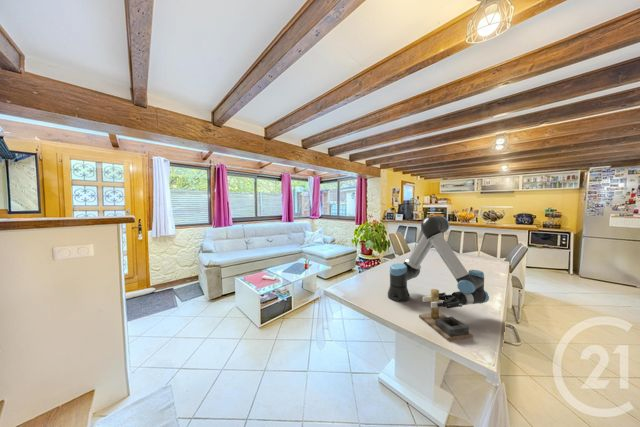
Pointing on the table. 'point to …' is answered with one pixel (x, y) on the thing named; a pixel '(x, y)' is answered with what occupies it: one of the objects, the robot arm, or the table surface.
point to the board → (432, 324)
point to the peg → (434, 299)
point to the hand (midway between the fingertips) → (427, 302)
